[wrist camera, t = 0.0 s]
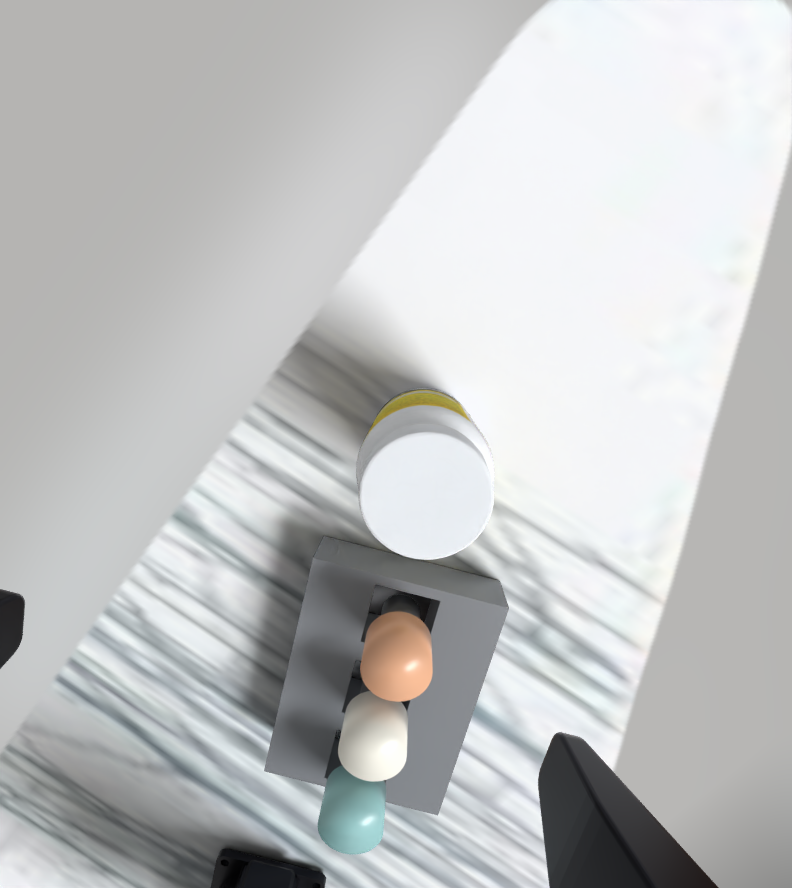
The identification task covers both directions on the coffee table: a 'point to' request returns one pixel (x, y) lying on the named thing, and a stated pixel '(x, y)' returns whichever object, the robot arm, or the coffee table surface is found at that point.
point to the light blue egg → (352, 812)
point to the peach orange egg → (397, 652)
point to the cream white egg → (373, 737)
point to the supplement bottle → (425, 476)
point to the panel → (342, 642)
